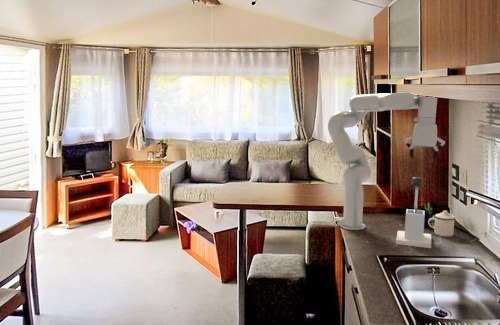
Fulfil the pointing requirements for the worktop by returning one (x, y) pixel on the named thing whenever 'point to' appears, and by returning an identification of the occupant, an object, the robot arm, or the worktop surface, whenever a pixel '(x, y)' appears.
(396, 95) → the robot arm
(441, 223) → the teacup with lid
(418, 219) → the stand
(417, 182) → the plunger
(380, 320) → the worktop surface
